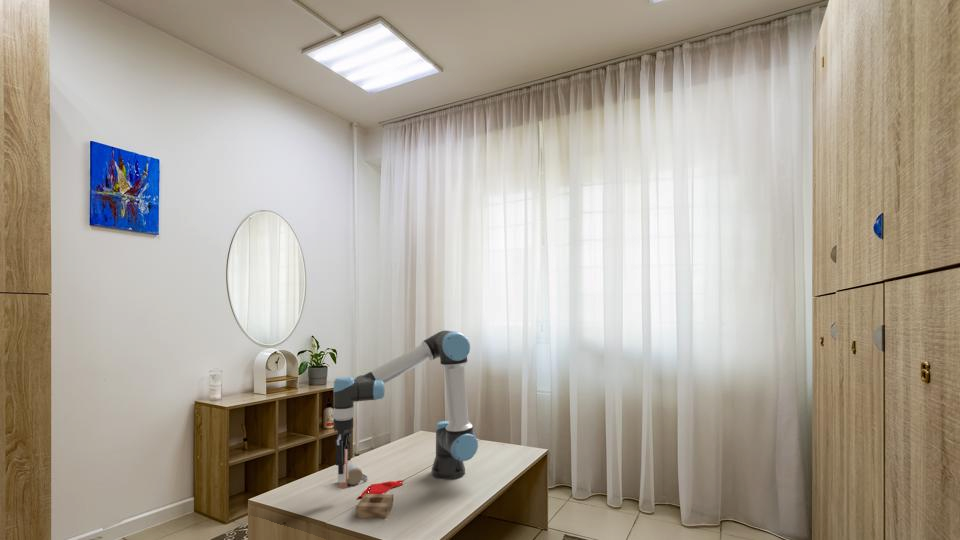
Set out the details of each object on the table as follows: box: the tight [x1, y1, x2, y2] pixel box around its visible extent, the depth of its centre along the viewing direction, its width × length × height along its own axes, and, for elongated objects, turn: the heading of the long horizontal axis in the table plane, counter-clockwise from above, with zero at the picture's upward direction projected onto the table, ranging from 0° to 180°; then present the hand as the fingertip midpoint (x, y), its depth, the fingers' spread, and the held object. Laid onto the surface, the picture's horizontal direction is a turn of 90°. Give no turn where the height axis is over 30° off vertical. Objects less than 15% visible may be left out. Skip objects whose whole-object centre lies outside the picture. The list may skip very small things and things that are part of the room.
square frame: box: [355, 493, 395, 519], centre depth 176 cm, size 11×11×4 cm
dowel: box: [338, 449, 348, 489], centre depth 184 cm, size 3×3×14 cm
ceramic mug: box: [347, 461, 369, 486], centre depth 205 cm, size 11×8×8 cm
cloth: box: [356, 479, 405, 501], centre depth 197 cm, size 26×14×2 cm, turn 131°
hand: (343, 480), depth 184 cm, fingers closed on dowel, 3 cm apart
